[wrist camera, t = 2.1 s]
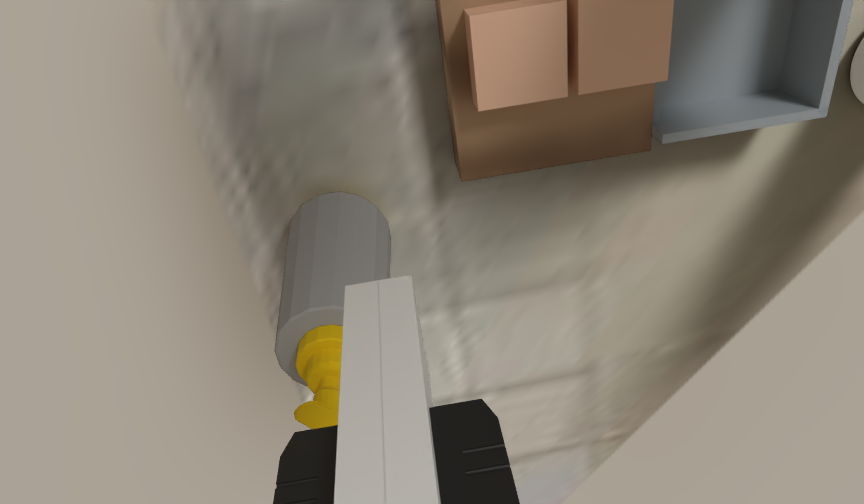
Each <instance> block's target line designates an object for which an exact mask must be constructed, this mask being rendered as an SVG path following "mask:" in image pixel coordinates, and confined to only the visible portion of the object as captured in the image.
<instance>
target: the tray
mask: <svg viewBox="0 0 864 504" xmlns="http://www.w3.org/2000/svg"><path fill="white" fill-rule="evenodd" d="M853 1H854V0H674V7H673V19H672V32H671V45H670V57H669V70H668V80H667V81H661V82H655V93H654V107H653V122H652V136H653V137H654V138H655V139H657V140H658V141H659V142H660V143H661V144H666V143H672V142H678V141H684V140H690V139H696V138H702V137H708V136H714V135H720V134H726V133H732V132H739V131H745V130H751V129H757V128H763V127H769V126H775V125H781V124H787V123H793V122H799V121H805V120H811V119H817V118H823V117H827V113H828V108H829V104H830V100H831V95H832V91H833V87H834V82H835V78H836V74H837V70H838V65H839V61H840V57H841V52H842V48H843V44H844V39H845V35H846V31H847V27H848V22H849V18H850V14H851V9H852V5H853Z"/></svg>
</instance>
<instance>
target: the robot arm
mask: <svg viewBox="0 0 864 504" xmlns="http://www.w3.org/2000/svg"><path fill="white" fill-rule="evenodd" d="M276 485H277V488H276V489H275V495H274V501H273V504H520V503H519V499H518V495H517V491H516V487H515V483H514V479H513V475H512V471H511V468H510V464H509V459H508V455H507V452H506V448H505V444H504V440H503V436H502V432H501V428H500V424H499V420H498V417H497V416H496V415H495V414H494V413H493V412H492V410H491V409H490V408H489V407H488V406H487V404H486V403H485V402H484V401H483V400H482V399H477V400H471V401H466V402H460V403H454V404H448V405H442V406H436V407H433V399H432V392H431V384H430V377H429V369H428V362H427V357H426V352H425V346H424V341H423V336H422V330H421V325H420V320H419V315H418V309H417V304H416V299H415V293H414V288H413V283H412V277H411V275H407V276H401V277H395V278H389V279H383V280H377V281H371V282H365V283H359V284H353V285H348V286H345V298H344V317H343V336H342V356H341V375H340V394H339V414H338V425H334V426H329V427H323V428H317V429H311V430H305V431H300V432H295V433H294V434H293V436H292V438H291V440H290V441H289V443H288V445H287V446H286V448H285V450H284V451H283V453H282V455H281V456H280V461H279V468H278V475H277V482H276Z"/></svg>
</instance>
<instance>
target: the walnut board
mask: <svg viewBox="0 0 864 504" xmlns="http://www.w3.org/2000/svg"><path fill="white" fill-rule="evenodd" d="M435 1H436V9H437V17H438V25H439V33H440V41H441V49H442V57H443V65H444V74H445V82H446V90H447V98H448V106H449V114H450V122H451V130H452V138H453V147H454V155H455V163H456V166H457V169H458V172H459V175H460V178H461V181H468V180H474V179H480V178H487V177H493V176H499V175H505V174H511V173H517V172H523V171H529V170H535V169H541V168H547V167H553V166H559V165H565V164H571V163H577V162H583V161H589V160H595V159H601V158H607V157H613V156H619V155H625V154H631V153H637V152H643V151H649V150H651V136H652V122H653V107H654V93H655V83H649V84H643V85H637V86H631V87H624V88H618V89H612V90H606V91H600V92H594V93H588V94H582V95H578V94H577V93H576V92H575V91H574V90H573V89H572V88H571V87H570V86H569V85H568V97H564V98H558V99H552V100H545V101H539V102H533V103H527V104H521V105H515V106H509V107H503V108H497V109H491V110H485V111H479V112H478V110H477V108H476V106H475V104H474V102H473V97H472V87H471V77H470V67H469V57H468V47H467V37H466V27H465V17H464V9H469V8H475V7H481V6H487V5H493V4H500V3H506V2H512V1H518V0H435ZM567 67H568V44H567Z"/></svg>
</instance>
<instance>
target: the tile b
mask: <svg viewBox="0 0 864 504" xmlns="http://www.w3.org/2000/svg"><path fill="white" fill-rule="evenodd" d="M673 7H674V0H567V44H568V85H569V86H570V87H571V88H572V89H573V90H574V91H575V92H576V93H577V94H578V95H582V94H588V93H594V92H600V91H606V90H612V89H618V88H624V87H631V86H637V85H643V84H649V83H655V82H661V81H667V80H668V70H669V57H670V45H671V32H672V19H673Z"/></svg>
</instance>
